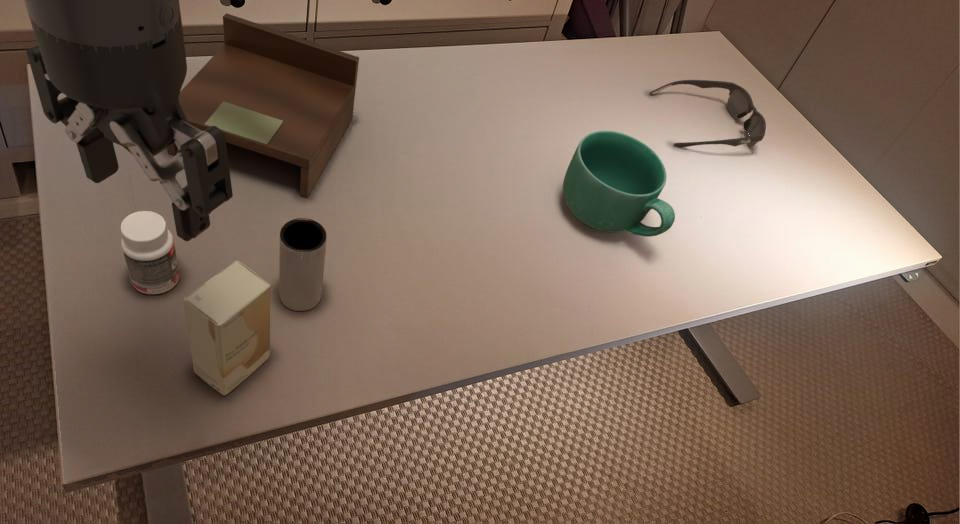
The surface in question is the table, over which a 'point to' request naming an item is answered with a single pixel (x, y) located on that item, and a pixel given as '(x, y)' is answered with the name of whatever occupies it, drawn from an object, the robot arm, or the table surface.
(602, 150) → the mug
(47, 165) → the table surface
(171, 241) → the pill bottle
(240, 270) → the cosmetic box
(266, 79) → the shelf
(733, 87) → the sunglasses
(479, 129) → the table surface
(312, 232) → the grey cylindrical cup
